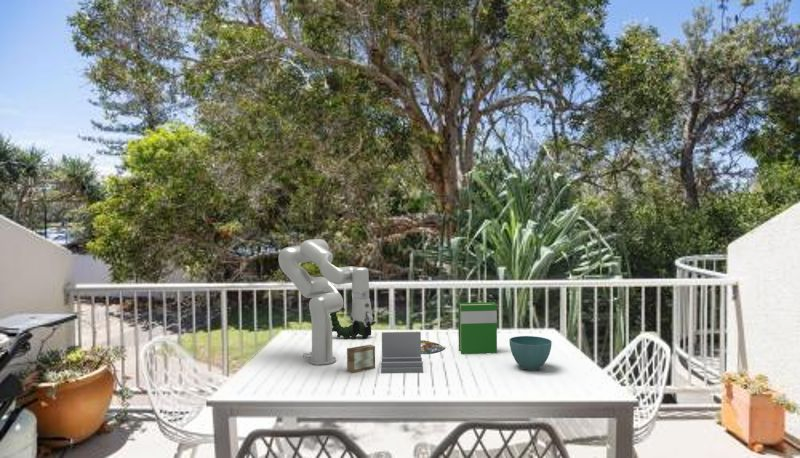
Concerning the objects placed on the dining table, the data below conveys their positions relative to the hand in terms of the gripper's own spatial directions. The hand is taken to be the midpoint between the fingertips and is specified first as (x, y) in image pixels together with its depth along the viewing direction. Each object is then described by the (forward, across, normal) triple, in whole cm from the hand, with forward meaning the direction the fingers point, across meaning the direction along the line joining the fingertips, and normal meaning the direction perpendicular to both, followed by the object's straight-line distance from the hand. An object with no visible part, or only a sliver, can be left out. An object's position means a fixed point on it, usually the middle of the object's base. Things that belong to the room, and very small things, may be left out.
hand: (361, 334), depth 243 cm
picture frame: (+16, +1, 0) cm, 16 cm away
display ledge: (+16, -7, -16) cm, 24 cm away
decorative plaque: (+17, +18, -43) cm, 50 cm away
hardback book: (+17, -8, -62) cm, 64 cm away
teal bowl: (+18, -43, -60) cm, 76 cm away
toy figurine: (+15, +56, -29) cm, 65 cm away
